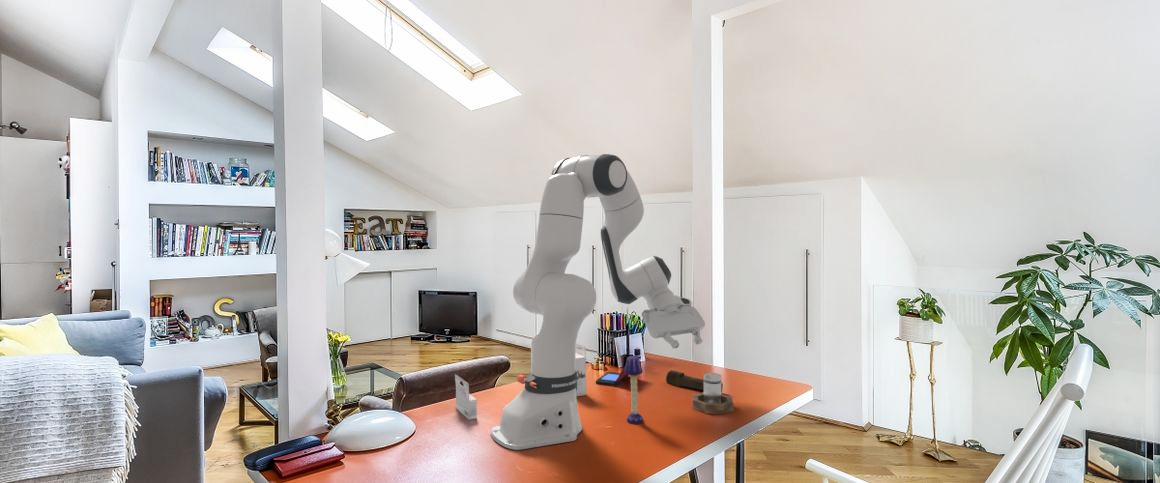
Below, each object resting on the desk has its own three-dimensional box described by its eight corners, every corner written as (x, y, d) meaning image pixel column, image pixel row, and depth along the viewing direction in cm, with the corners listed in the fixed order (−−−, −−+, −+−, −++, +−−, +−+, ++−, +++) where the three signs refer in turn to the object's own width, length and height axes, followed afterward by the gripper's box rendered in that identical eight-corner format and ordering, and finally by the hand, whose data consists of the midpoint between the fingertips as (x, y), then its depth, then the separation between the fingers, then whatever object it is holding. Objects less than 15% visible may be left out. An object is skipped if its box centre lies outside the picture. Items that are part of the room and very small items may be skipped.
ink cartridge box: (463, 406, 147) (463, 372, 146) (477, 418, 137) (477, 382, 137) (454, 408, 145) (454, 373, 145) (468, 420, 136) (468, 383, 136)
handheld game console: (608, 375, 179) (608, 353, 179) (638, 378, 175) (638, 356, 175) (594, 384, 168) (594, 361, 168) (625, 388, 164) (625, 365, 164)
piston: (712, 411, 142) (713, 378, 142) (699, 406, 146) (699, 374, 146) (725, 408, 145) (725, 375, 145) (711, 403, 149) (711, 371, 149)
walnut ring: (713, 416, 138) (713, 407, 138) (684, 405, 147) (684, 397, 147) (740, 409, 144) (741, 400, 144) (711, 398, 153) (711, 390, 153)
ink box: (560, 389, 162) (559, 342, 162) (574, 387, 164) (574, 341, 164) (571, 397, 154) (571, 348, 154) (586, 395, 156) (586, 346, 156)
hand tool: (723, 394, 158) (723, 378, 158) (717, 396, 155) (717, 381, 155) (671, 382, 171) (671, 368, 171) (664, 384, 168) (664, 370, 168)
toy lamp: (637, 425, 132) (637, 360, 131) (621, 422, 134) (621, 357, 134) (645, 419, 136) (645, 356, 135) (629, 416, 138) (629, 354, 138)
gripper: (644, 304, 153) (667, 343, 145) (694, 299, 164) (717, 335, 156) (634, 317, 157) (656, 355, 149) (683, 311, 168) (706, 347, 160)
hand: (688, 345), depth 153 cm, fingers open, 8 cm apart
